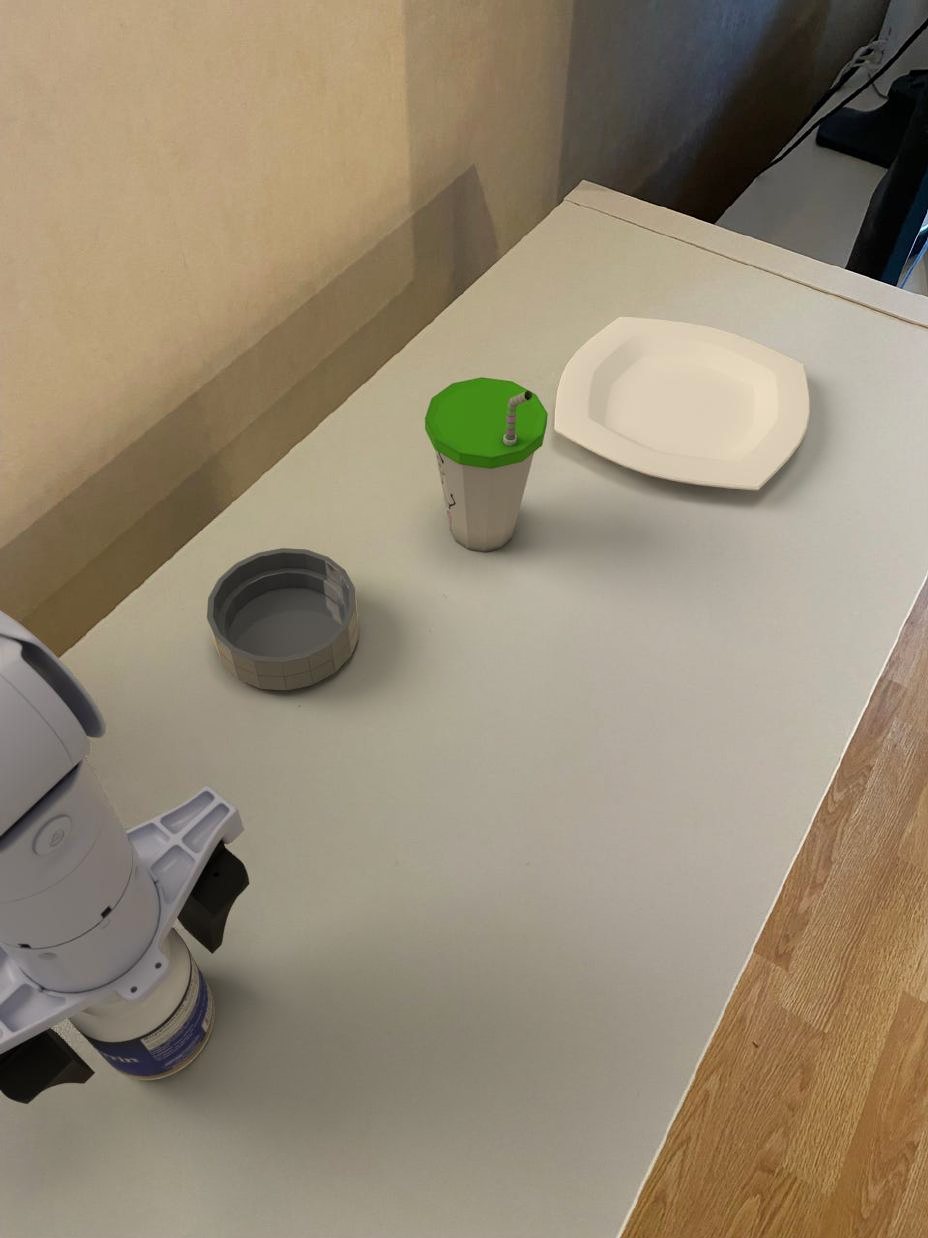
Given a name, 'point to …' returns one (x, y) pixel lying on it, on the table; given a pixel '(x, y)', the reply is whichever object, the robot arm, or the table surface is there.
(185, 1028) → the pill bottle
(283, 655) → the bowl
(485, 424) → the cup
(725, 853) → the table surface
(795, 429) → the plate
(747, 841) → the table surface
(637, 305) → the table surface
